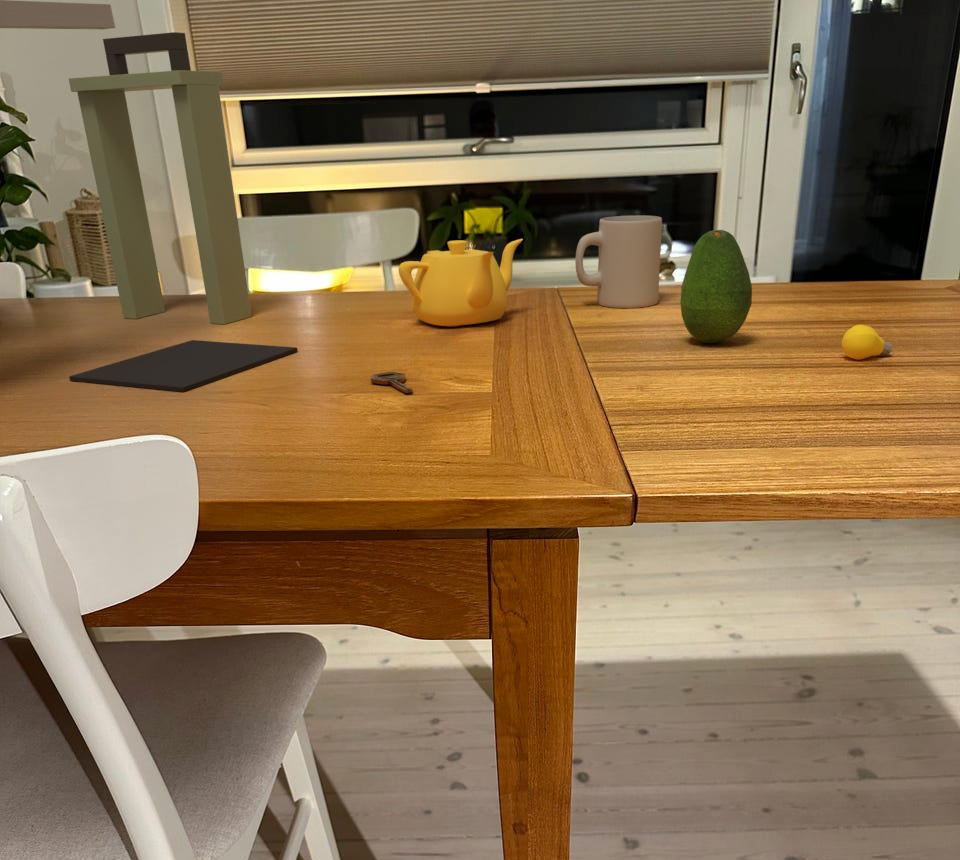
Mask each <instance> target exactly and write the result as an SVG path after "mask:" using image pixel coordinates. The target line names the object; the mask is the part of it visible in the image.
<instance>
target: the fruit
mask: <svg viewBox="0 0 960 860" xmlns="http://www.w3.org/2000/svg"><path fill="white" fill-rule="evenodd" d="M683 276H684V277H683V280H682V284H681V289H680V303H679V304H680V313H681V318H682V320H683V324H684V326H685V329H686V330H687V331H688V334H690V336H691V337H693V338H694V339H696V340H698V341H699V342H701V343H704V344H717V343H718V344H719V343H721V342H724V341H727V340H729V339H730V338H732V337H734V336H735V335H737V333H738V332H739V330H740V329H741V328H742V326H743V325H744V323H745V321H746V319H747V317H748V315H749V312H750V310H751V306H752V303H753V302H752V301H753V299H752V298H753V296H752V295H753V285H752V280H751V275H750V272H749V269H748V267H747V264H746V261H745V258H744V255H743V252H742V250H741V248H740V245H739V243H738V242H737V239H736V238H735V237H734V235H733V234H732V233H731V232H729V231H727V230H724V229H714V230H709V231H707V232H705V233H704V234H702V235H701V237H699V239H697V241H696V243H695V245H694V246H693V249H692V252H691V255H690V257H689V261H688V264H687V267H686V271H685V273H684V275H683Z"/></svg>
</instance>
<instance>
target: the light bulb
mask: <svg viewBox="0 0 960 860" xmlns="http://www.w3.org/2000/svg"><path fill="white" fill-rule="evenodd" d="M841 339H842V340H841V348H842V350H843V353H844V355H845V356H846V357H848V358H850V359H853V360H856V361H861V360H865V359H867V358H870V357H876V356H879V355H880V356H885V357H887V356H889V355H890V354H891V353H892V352H893V344H892V342H888V341H885V340H884V338H883V337H881V336H879V334H878V333H877V331H876V330H875V328H873V327H871V326H869V325H865V324H856V325H854V326H852V327H850V328H849V329H848V330H846V331H845V333H844V334H843V337H842V338H841Z"/></svg>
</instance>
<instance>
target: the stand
mask: <svg viewBox="0 0 960 860" xmlns="http://www.w3.org/2000/svg"><path fill="white" fill-rule="evenodd" d="M186 38H187V36H186V32H176V31H172V32H162V33H151V34H141V35H130V36H119V37H109V38H108V37H107V38H103V39H102V42H103V48H104V53H105V58H106V63H107V67H108V74H109V75H95V76H84V77H70V78H69V77H68V83H69V88H70V92H71V93H76V94H77V99H78V102H79V106H80V113H81V118H82V122H83V126H84V132H85V136H86V142H87V146H88V152H89V156H90V161H91V166H92V170H93V175H94V181H95V185H96V190H97V195H98V200H99V205H100V209H101V214H102V219H103V225H104V229H105V233H106V238H107V243H108V248H109V249H108V250H109V253H110V258H111V263H112V268H113V272H114V277H115V278H114V279H115V282H116V283H115V284H116V287H117V293H118V297H119V302H120V306H121V312H122V316H123V317H122V318H123V319H131V320H138V319H141V318H145V317H150V316H154V315H157V314H161V313H165V312H166V307H165V302H164V297H163V292H162V286H161V280H160V276H159V270H158V265H157V260H156V259H157V258H156V254H155V249H154V244H153V237H152V232H151V227H150V221H149V217H148V210H147V205H146V199H145V195H144V189H143V184H142V179H141V173H140V167H139V162H138V156H137V151H136V145H135V140H134V135H133V130H132V124H131V119H130V113H129V107H128V103H127V97H126V92H140V91H155V90H171V91H172V97H173V104H174V110H175V117H176V121H177V128H178V133H179V140H180V146H181V153H182V158H183V165H184V170H185V176H186V182H187V188H188V194H189V195H188V196H189V200H190V201H189V202H190V207H191V214H192V219H193V224H194V231H195V237H196V242H197V249H198V250H197V251H198V256H199V261H200V267H201V274H202V279H203V286H204V292H205V298H206V304H207V310H208V316H209V322H210V324H211V325H227V324H231V323H235V322H238V321H241V320H245V319H248V318H252V310H251V302H250V296H249V287H248V283H247V274H246V268H245V267H246V266H245V261H244V260H245V259H244V254H243V247H242V240H241V233H240V226H239V220H238V211H237V207H236V200H235V199H236V197H235V191H234V185H233V184H234V183H233V178H232V177H233V176H232V170H231V163H230V156H229V149H228V144H227V136H226V130H225V129H226V128H225V121H224V116H223V108H222V100H221V95H220V88H219V87H220V86H224V80H223V73H222V71H213V70H212V71H208V70H192V68H191V62H190V56H189V49H188V43H187V39H186ZM166 52H167V53H168V58H169V65H170V70H165V71H152V72H151V71H150V72H137V73H129V68H128V62H127V57H126V56H129V55H130V56H131V55H132V56H133V55H140V54H141V55H142V54H143V55H144V54H154V53H166Z"/></svg>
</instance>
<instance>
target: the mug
mask: <svg viewBox="0 0 960 860" xmlns="http://www.w3.org/2000/svg"><path fill="white" fill-rule="evenodd" d="M662 228H663V218H662V217H660V216H656V215H618V216H607V217H602V218H600V219H599V225H598V231H594V232H591V233H587V234H585V235H583V236H581V238H580V239H579V241H578V243H577V246H576V251H575V262H574V263H575V272H576V273H575V274H576V276H577V280H578V281H579V282H580V284H582V285H583V286H586V287H591V288H592V287H595V288H596V287H597V304H598V305H599V306H602V307H605V308H613V309H638V308H639V309H640V308H646V307H647V308H648V307H652V306H655V305H657V304H658V302H659V298H660V297H659V296H660V269H661V251H662V233H663V232H662V230H663V229H662ZM589 246H597V247H598V262H597V265H598V266H597V272H596V273H593V274H587V272H586V271H585V268H584V254H585V251H586V249H587V247H589Z"/></svg>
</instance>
